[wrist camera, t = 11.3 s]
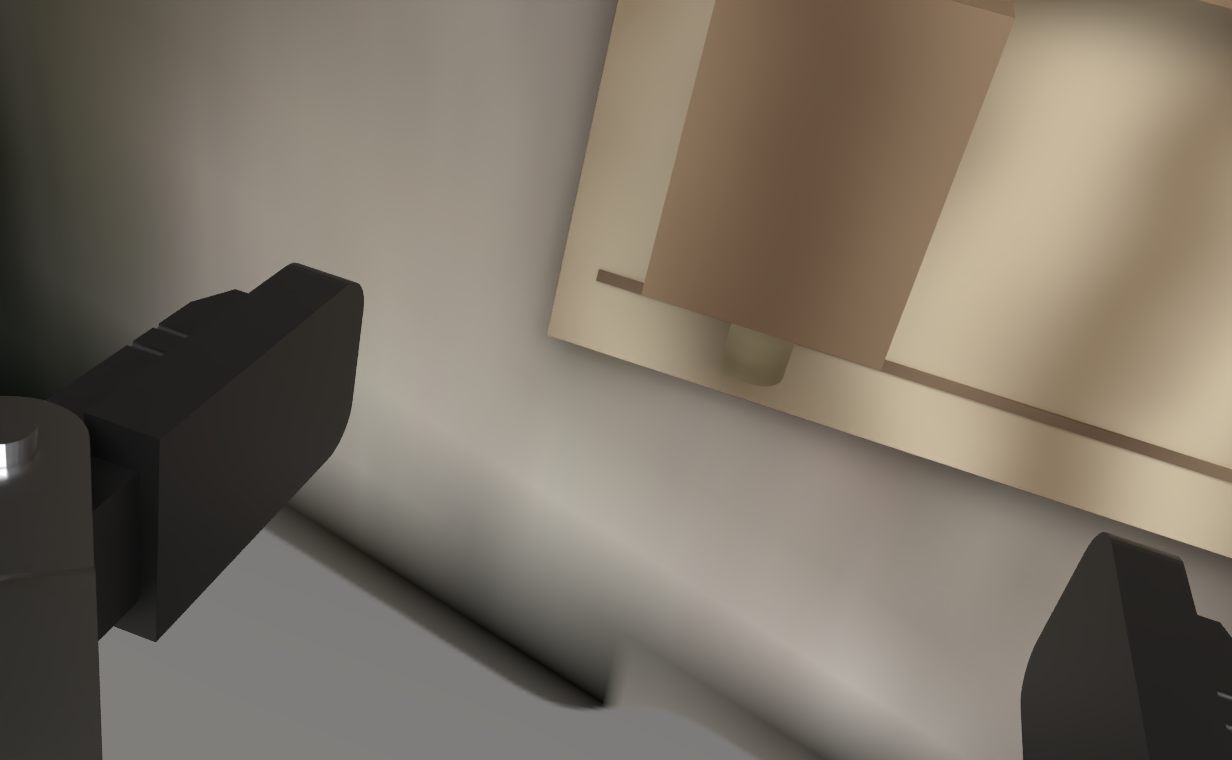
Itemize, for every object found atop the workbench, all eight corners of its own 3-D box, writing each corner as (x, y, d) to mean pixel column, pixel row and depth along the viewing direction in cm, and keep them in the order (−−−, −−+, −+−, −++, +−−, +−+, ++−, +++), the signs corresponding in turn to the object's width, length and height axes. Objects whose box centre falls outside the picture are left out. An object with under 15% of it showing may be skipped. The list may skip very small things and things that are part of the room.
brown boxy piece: (1004, -34, 25) (1015, 18, 20) (854, 372, 30) (831, 498, 25) (778, -95, 25) (730, -61, 20) (668, 313, 30) (608, 424, 25)
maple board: (2038, 116, 23) (2225, 176, 20) (1591, 635, 30) (1671, 746, 27) (687, -235, 26) (645, -236, 23) (568, 305, 33) (523, 367, 30)
